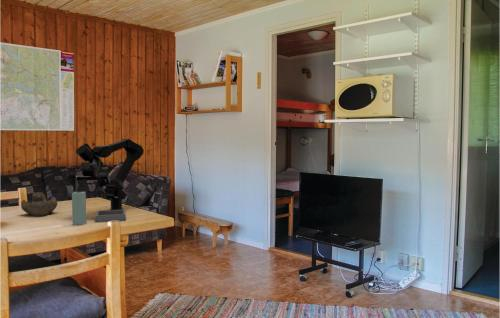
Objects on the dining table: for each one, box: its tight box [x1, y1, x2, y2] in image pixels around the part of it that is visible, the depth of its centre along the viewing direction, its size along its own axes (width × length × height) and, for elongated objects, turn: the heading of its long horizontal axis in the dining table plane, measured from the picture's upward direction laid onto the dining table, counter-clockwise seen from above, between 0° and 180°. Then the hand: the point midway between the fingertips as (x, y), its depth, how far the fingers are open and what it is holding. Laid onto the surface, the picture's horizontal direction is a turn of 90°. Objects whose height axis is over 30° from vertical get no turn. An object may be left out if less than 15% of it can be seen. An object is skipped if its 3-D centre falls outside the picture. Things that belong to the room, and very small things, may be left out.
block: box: [71, 191, 87, 226], centre depth 188 cm, size 4×4×14 cm
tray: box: [94, 209, 126, 223], centre depth 200 cm, size 13×13×3 cm
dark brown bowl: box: [20, 191, 58, 217], centre depth 210 cm, size 16×11×15 cm
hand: (84, 193), depth 194 cm, fingers open, 9 cm apart
